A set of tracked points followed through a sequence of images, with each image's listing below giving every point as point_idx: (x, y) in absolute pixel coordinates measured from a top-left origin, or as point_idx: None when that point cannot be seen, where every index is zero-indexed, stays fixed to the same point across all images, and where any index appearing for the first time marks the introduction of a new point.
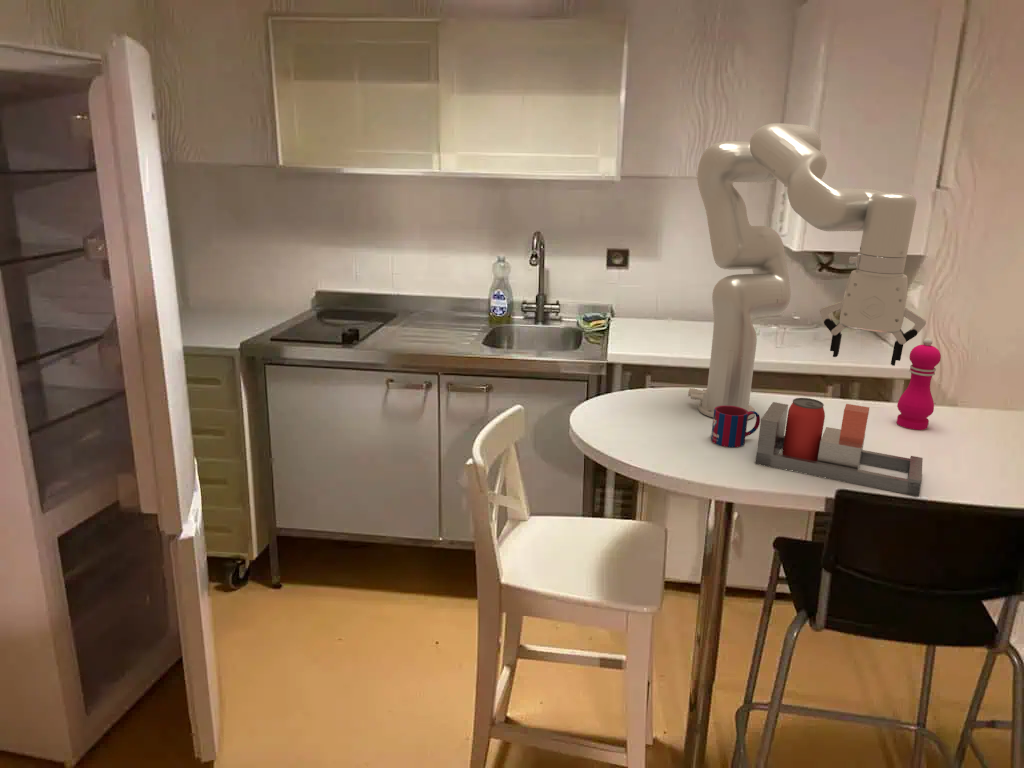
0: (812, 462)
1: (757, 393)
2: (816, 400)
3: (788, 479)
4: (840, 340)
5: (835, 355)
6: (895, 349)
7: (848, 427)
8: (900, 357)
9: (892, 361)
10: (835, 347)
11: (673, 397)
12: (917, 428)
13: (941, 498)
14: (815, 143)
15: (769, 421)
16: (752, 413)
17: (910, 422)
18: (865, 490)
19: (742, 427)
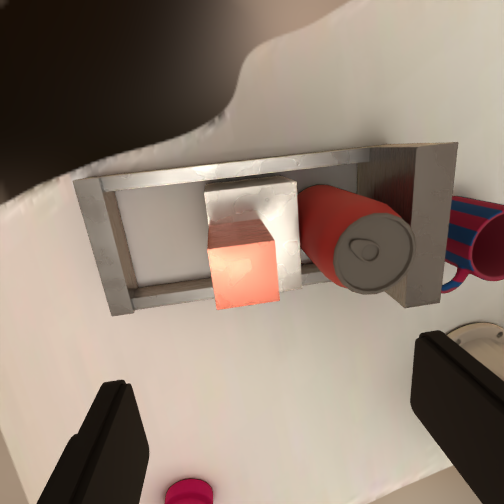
0: (291, 159)
1: (428, 474)
2: (357, 289)
3: (317, 101)
4: (475, 461)
5: (430, 333)
6: (74, 475)
7: (248, 229)
8: (68, 447)
9: (113, 393)
10: (475, 365)
11: None
12: (177, 484)
13: (50, 198)
14: None
15: (435, 144)
16: (454, 277)
17: (188, 490)
18: (178, 143)
19: (453, 224)
